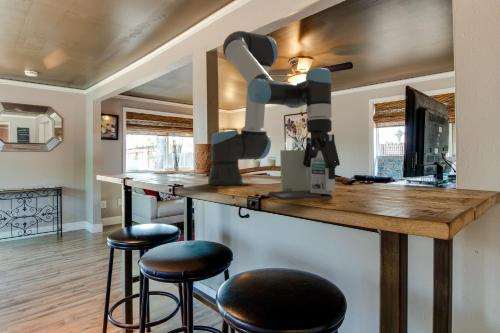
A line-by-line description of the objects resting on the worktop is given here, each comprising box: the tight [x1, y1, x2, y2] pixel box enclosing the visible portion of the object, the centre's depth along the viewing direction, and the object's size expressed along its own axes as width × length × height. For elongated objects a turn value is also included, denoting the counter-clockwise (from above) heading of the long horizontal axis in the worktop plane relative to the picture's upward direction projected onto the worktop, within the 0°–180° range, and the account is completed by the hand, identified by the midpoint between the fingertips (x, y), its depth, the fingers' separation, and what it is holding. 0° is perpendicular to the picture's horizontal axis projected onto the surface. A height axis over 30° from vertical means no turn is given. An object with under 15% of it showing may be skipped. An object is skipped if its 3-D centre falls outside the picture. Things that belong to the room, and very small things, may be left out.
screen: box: [279, 149, 324, 191], centre depth 101 cm, size 4×18×14 cm, turn 104°
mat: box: [268, 190, 322, 200], centre depth 89 cm, size 12×12×1 cm
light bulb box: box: [308, 158, 334, 196], centre depth 91 cm, size 11×7×11 cm, turn 170°
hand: (319, 188), depth 91 cm, fingers closed on light bulb box, 12 cm apart
